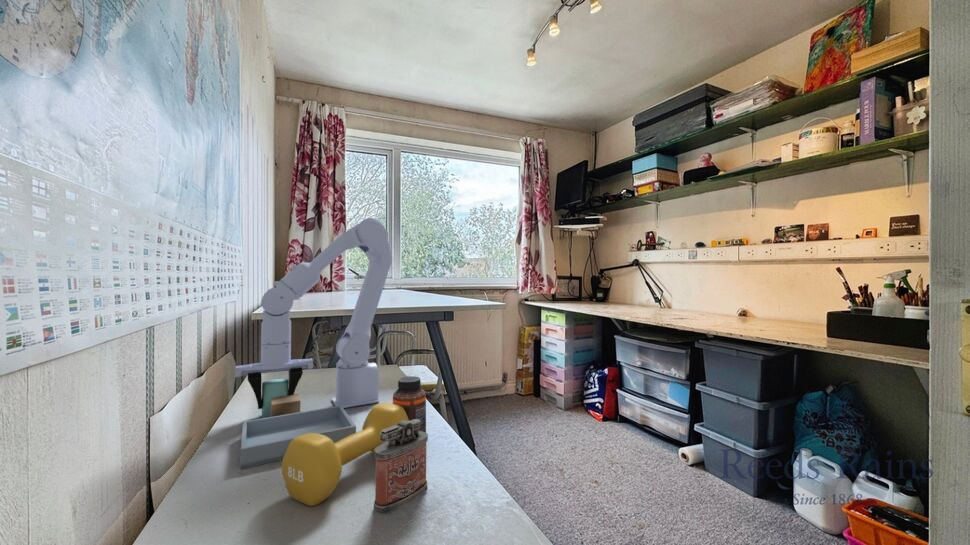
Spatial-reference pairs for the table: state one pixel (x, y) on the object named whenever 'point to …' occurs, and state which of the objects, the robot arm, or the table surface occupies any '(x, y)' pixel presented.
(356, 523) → the table surface
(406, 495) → the lighter
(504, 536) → the table surface
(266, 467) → the table surface
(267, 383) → the teal cylinder
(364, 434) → the dumbbell
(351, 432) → the tote
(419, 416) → the supplement bottle
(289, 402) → the cube
